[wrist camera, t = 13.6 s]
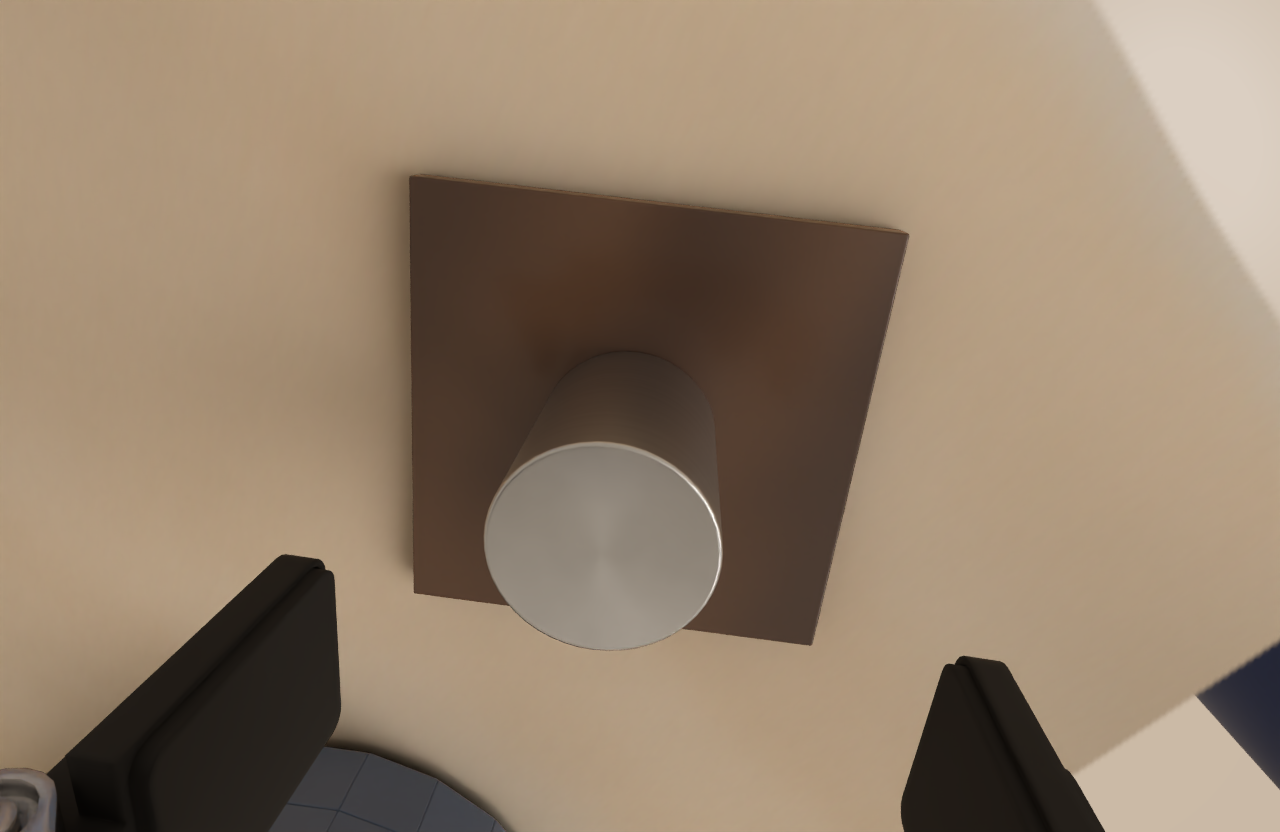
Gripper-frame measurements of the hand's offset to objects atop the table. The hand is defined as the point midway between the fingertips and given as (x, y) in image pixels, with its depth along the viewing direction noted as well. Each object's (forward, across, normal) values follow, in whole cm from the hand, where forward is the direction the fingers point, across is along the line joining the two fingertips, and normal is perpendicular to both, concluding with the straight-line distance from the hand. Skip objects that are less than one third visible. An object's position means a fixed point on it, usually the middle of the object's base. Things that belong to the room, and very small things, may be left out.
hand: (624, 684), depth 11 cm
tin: (+9, +1, 0) cm, 9 cm away
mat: (+10, +1, 0) cm, 10 cm away
